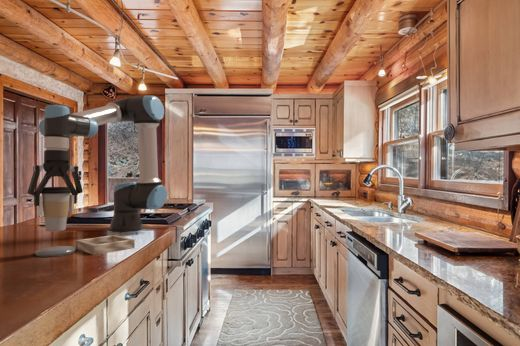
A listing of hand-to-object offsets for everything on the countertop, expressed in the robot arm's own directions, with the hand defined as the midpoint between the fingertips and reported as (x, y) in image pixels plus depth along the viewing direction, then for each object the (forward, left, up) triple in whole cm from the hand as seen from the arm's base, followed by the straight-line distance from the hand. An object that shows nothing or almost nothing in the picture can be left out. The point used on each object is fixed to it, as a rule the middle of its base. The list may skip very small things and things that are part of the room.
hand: (56, 214), depth 121 cm
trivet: (0, 0, -13) cm, 13 cm away
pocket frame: (-15, +5, -13) cm, 21 cm away
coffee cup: (0, 0, -6) cm, 6 cm away
